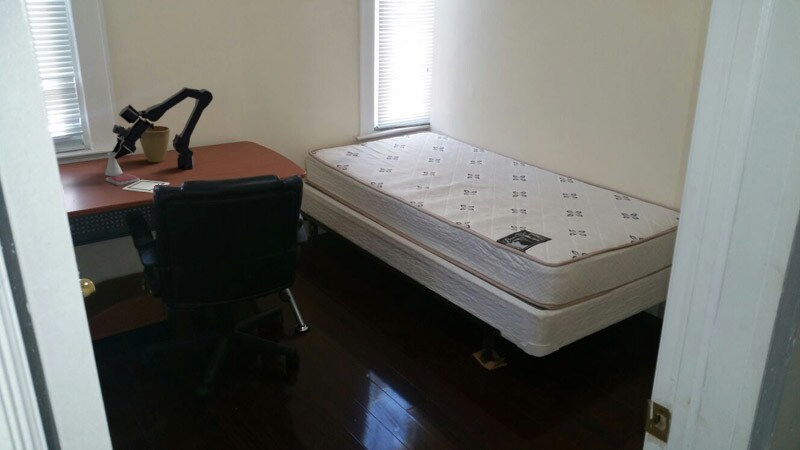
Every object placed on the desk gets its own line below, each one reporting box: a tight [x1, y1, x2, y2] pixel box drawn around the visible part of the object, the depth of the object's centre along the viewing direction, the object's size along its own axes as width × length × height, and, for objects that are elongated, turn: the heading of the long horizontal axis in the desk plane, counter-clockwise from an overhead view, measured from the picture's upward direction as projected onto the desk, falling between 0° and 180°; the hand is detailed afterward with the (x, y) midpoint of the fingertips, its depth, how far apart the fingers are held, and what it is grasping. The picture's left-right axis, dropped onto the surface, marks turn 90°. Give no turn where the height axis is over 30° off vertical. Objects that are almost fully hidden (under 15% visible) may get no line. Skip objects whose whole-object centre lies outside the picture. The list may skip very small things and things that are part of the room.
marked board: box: [121, 179, 171, 194], centre depth 276 cm, size 14×14×1 cm
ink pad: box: [105, 173, 140, 186], centre depth 282 cm, size 10×10×2 cm
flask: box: [104, 151, 123, 177], centre depth 290 cm, size 7×7×10 cm
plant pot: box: [138, 125, 171, 163], centre depth 313 cm, size 15×15×16 cm
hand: (113, 155), depth 289 cm, fingers open, 9 cm apart
